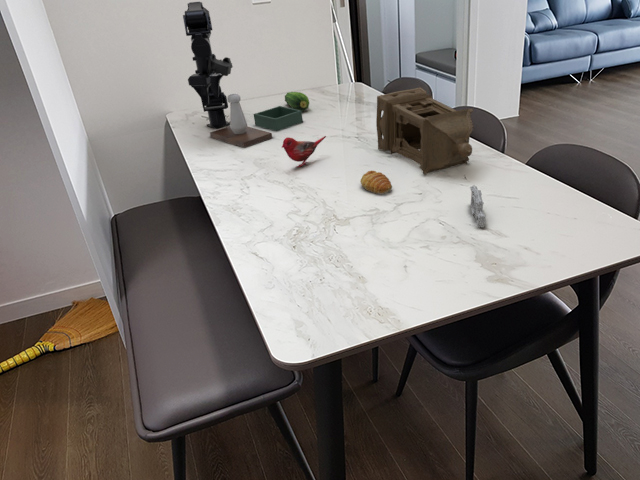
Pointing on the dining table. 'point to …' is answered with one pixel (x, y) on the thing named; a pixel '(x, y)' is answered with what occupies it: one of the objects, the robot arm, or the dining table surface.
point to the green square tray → (278, 118)
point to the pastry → (376, 182)
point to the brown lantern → (423, 129)
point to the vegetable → (297, 100)
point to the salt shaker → (236, 115)
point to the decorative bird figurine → (299, 149)
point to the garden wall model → (477, 206)
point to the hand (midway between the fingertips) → (212, 100)
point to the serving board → (241, 136)
